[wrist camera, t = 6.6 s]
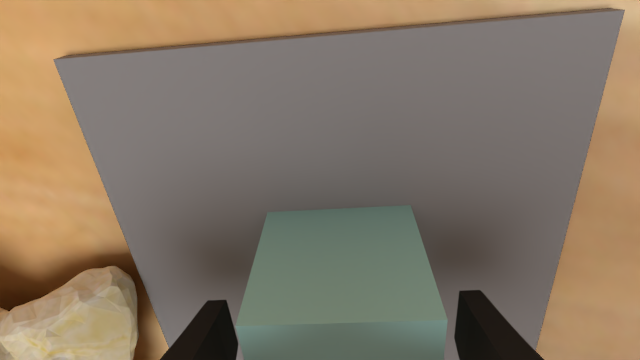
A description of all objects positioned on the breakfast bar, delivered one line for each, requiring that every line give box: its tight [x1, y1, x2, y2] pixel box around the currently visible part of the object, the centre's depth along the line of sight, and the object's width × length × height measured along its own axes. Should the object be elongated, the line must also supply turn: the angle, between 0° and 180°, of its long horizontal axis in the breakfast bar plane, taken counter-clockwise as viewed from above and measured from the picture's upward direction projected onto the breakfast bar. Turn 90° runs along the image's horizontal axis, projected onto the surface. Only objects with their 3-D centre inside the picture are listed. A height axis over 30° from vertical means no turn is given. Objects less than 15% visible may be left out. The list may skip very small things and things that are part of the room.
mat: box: [54, 8, 625, 360], centre depth 15 cm, size 16×16×1 cm
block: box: [235, 205, 448, 360], centre depth 12 cm, size 5×5×5 cm
